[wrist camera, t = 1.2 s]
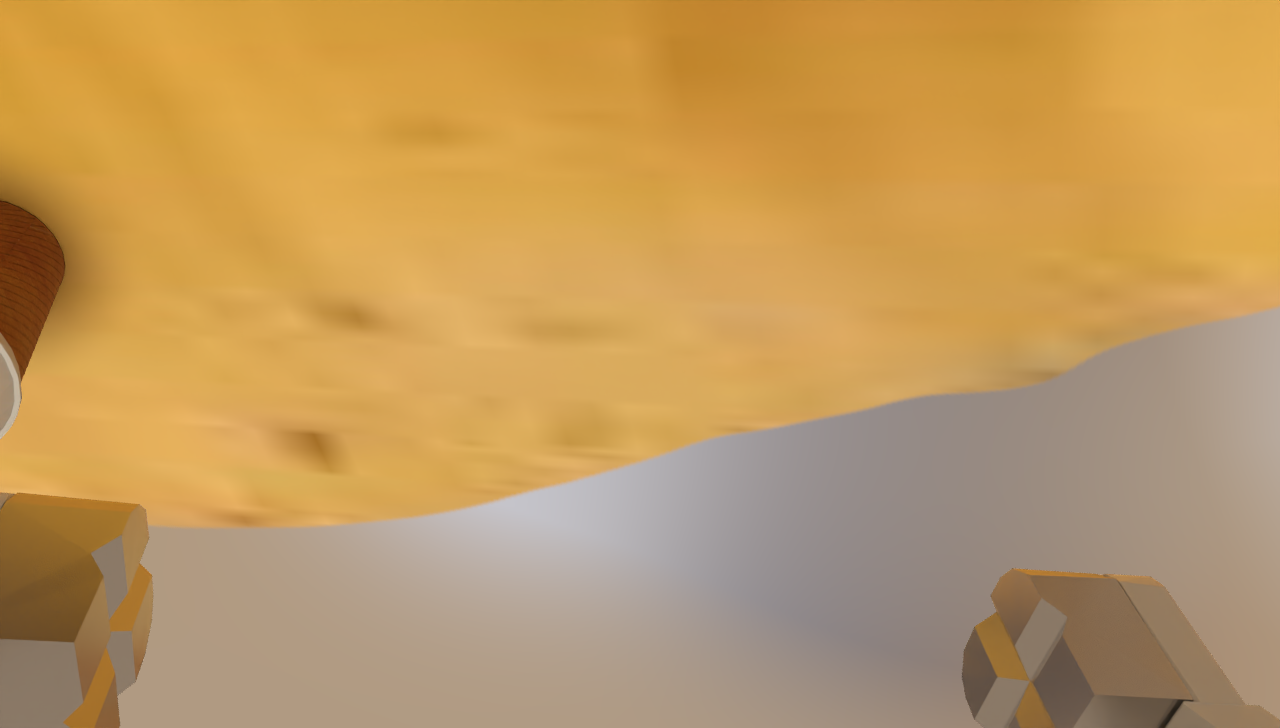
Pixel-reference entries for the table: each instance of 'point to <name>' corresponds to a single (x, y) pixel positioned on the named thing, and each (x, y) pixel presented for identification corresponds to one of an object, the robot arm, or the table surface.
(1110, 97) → the table surface
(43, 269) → the disposable coffee cup
